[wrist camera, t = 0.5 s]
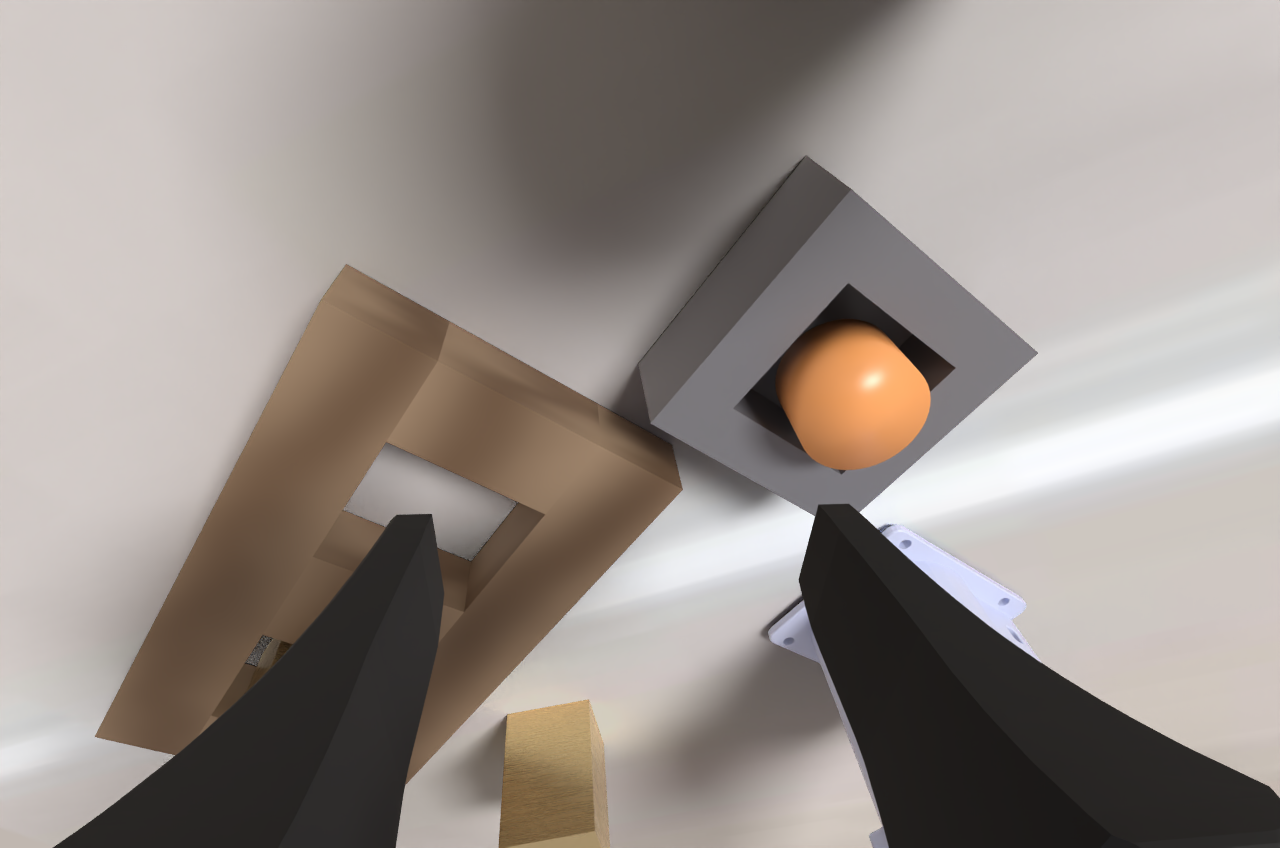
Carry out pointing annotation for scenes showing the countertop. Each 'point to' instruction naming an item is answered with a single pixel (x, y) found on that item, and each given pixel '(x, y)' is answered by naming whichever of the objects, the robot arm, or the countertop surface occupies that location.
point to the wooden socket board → (338, 541)
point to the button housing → (794, 304)
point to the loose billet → (554, 780)
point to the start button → (851, 394)
